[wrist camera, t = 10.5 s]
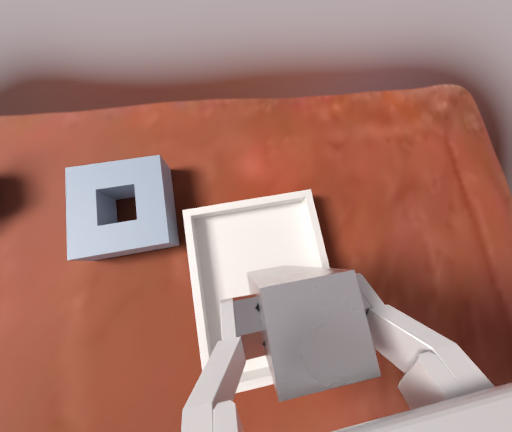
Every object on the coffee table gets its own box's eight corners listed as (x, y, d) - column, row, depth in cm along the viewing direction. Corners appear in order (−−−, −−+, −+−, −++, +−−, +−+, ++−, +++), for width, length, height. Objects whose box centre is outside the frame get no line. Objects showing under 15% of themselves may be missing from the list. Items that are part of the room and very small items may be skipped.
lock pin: (284, 265, 18) (354, 269, 7) (291, 304, 17) (381, 376, 6) (246, 272, 17) (259, 288, 7) (253, 312, 17) (279, 401, 6)
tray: (303, 196, 30) (310, 189, 27) (340, 353, 26) (353, 364, 23) (188, 215, 28) (182, 210, 25) (210, 384, 25) (205, 400, 22)
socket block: (170, 169, 29) (159, 154, 25) (179, 245, 27) (169, 242, 24) (89, 180, 28) (65, 167, 25) (93, 260, 26) (67, 260, 23)
